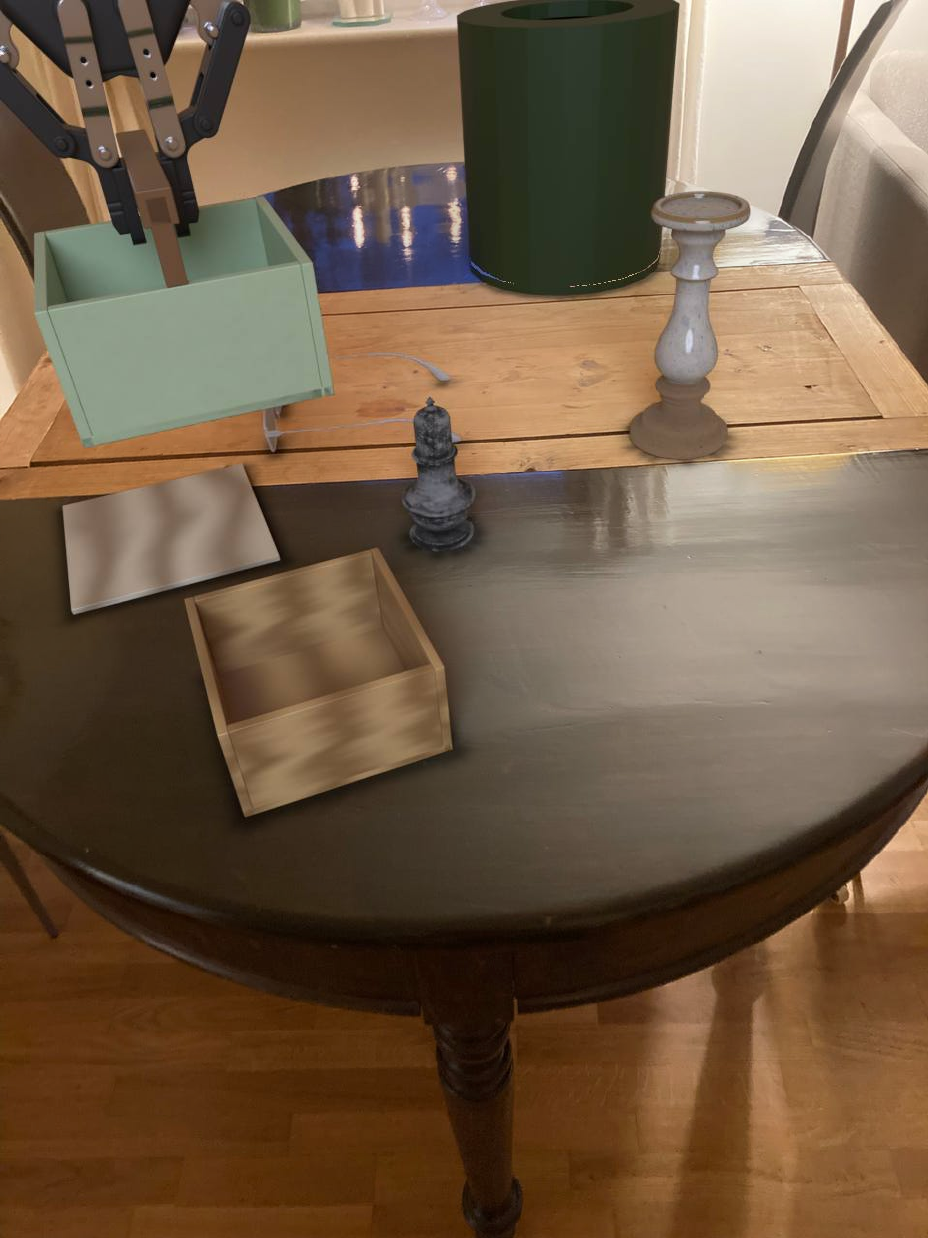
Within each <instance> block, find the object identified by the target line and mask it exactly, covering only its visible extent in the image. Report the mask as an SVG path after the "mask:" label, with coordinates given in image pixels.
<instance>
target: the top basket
mask: <svg viewBox="0 0 928 1238" xmlns="http://www.w3.org/2000/svg"><path fill="white" fill-rule="evenodd" d="M115 140H116V143H117V147H118V149H119V153H120V157H123V160H124V163H125V166H126V169H127V173H128V177H129V180H130V184H131V188H132V191H133V195H134V198H135V202H136V205H137V208H138V212H139V215H140V219H141V223H142V226H143V230H144V233H145V237H146V241H147V243H146V244H140V245H133V242H132V238H131V235H130V234H125V235H119V233H118V232H117V231H116V229H115V228H114V226H113V224H112V221H111V220H106V221H100V222H93V223H87V224H82V225H75V226H69V227H63V228H57V229H51V230H45V231H39V232H34V233H33V260H34V261H33V278H34V279H33V284H34V287H33V313H34V314H33V315H34V318H35V320H36V322H37V325H38V327H39V331H40V334H41V336H42V339H43V342H44V344H45V347H46V350H47V352H48V355H49V359H50V360H51V364H52V367H53V368H54V371H55V374H56V376H57V379H58V382H59V385H60V388H61V390H62V393H63V396H64V398H65V401H66V405H67V406H68V409H69V412H70V415H71V417H72V420H73V423H74V426H75V429H76V431H77V433H78V436H79V439H80V442H81V446H82V447H83V449H89V448H92V447H93V448H94V447H98V446H102V445H108V444H112V443H116V442H121V441H122V442H123V441H126V440H131V439H136V438H139V437H144V436H149V435H153V434H158V433H159V434H160V433H162V432H167V431H172V430H177V429H181V428H186V427H190V426H195V425H199V424H205V423H209V422H214V421H218V420H223V419H227V418H232V417H237V416H242V415H246V414H247V415H248V414H250V413H255V412H260V411H263V410H265V409H270V408H273V409H275V407H279V406H282V407H283V406H288V405H291V404H297V403H302V402H306V401H311V400H316V399H320V398H324V397H329V396H333V395H335V389H334V382H333V376H332V370H331V364H330V359H329V358H330V357H329V352H328V351H329V350H328V346H327V339H326V334H325V330H324V328H325V327H324V321H323V316H322V310H321V304H320V297H319V291H318V285H317V279H316V274H315V266H314V262H313V261H312V259H311V258H310V257H309V256H308V254H307V253H306V251H305V250H304V248H303V247H302V246H301V245H300V243H299V242H298V241H297V240H296V237H294V235H293V234H292V233H291V231H290V229H289V228H288V227H287V226H286V224H285V223H284V221H283V220H282V219H281V217H280V216H279V214H278V213H277V212H276V210H275V209H274V208H273V206H272V205H271V204H270V202H269V201H268V199H266V197H265V196H264V195H261V196H260V195H259V196H254V197H247V198H241V199H236V200H229V201H222V202H217V203H210V204H205V205H198V208H199V218H198V222H197V223H191V224H189V228H190V232H191V236H187V237H181V238H177V235H176V232H175V228H174V224H179V223H180V221H179V217H178V213H177V209H176V205H175V201H174V197H173V193H172V189H171V186H170V184H169V182H168V179H167V177H166V175H165V173H164V170H163V168H162V166H161V164H160V162H159V159H158V157H157V155H156V153H155V152H156V151H155V148H154V146H153V144H152V141H151V140H150V138H149V135H148V133H147V130H146V129H144V128H141V129H134V130H128V131H121V132H116V133H115Z"/></svg>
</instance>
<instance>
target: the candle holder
mask: <svg viewBox="0 0 928 1238" xmlns="http://www.w3.org/2000/svg"><path fill="white" fill-rule="evenodd" d="M751 210H752V209H751V205H750V203H749V202H748V200H746V199H745V198H743V197H741V196H738V195H737V194H736V195H735V194H731V193H728V192H727V193H726V192H721V191H708V190H697V191H695V190H694V191H684V192H677V193H672V194H669V195H665V197H662V198H660V199H658V200H657V201H656V202H655V203H654V205H653V207H652V210H651V218H652V220H653V221H654V222H655V223H657V224H658V225H660V226H662V228H666V229H669V230H671V232H670V236H671V238H672V240H673V241H674V242H675V244H676V245H677V247H678V252H679V253H678V258H677V259H676V261H675V262H674V264H673V265H672V267H671V268H670V271H669V273H670V275H671V277H673V278H674V279H675V291H674V299H673V305H672V306H673V307H672V308H671V309H672V310H671V313H670V316H669V318H668V321H667V323H666V325H665V326H664V328H663V330H662V332H661V333H660V335H659V337H658V340H657V342H656V344H655V347H654V351H653V361H654V364H655V367H656V369H657V370H658V372H659V373H660V376H659V377H658V378H657V379H656V380H655V383H654V385H655V386H654V387H655V390H656V391H657V393H658V394H659V397H660V399H661V400H659V401H656V402H654V403H651V404H650V405H648V406H647V407H646V408H645V409H644V410H643V411H640V412H639V413H637V414H636V415H635V416H634V417H633V418H632V420H631V422H630V424H629V438H630V440H631V442H632V444H633V445H634V446H636V447H637V448H638V449H639V450H641V451H643V452H646V453H647V454H649V455H651V456H652V455H653V456H655V457H659V458H665V459H670V460H671V459H672V460H690V459H698V458H702V457H703V458H704V457H706V456H709V455H712V454H714V453H716V452H717V451H719V450H721V448H723V446H724V445H725V443H726V442H727V438H728V433H729V431H728V429H729V428H728V426H727V423H726V421H725V420H724V419H723V418H722V417H721V416H720V415H718V414H717V412H715V410H714V409H713V408H711V407H710V406H709V405H707V404H705V403H702V400H703V399H704V398H705V396H706V395H707V394H708V393H709V392H710V390H711V387H712V386H711V382H710V380H709V379H708V377H707V376H708V375H709V374H710V373H711V372H712V371H713V370H714V368H715V366H716V364H717V362H718V358H719V347H718V342H717V341H718V340H717V338H716V335H715V332H714V329H713V327H712V323H711V319H710V314H709V302H710V300H709V299H710V290H711V289H710V288H711V282H712V279H714V278H716V277H718V276H719V268H718V266H717V265H716V263H715V261H714V260H715V259H714V251H715V249H716V247H717V245H719V243H720V242H722V240H723V239H724V238H725V237H726V231H727V230H730V229H731V230H732V229H734V228H737V227H740V226H742V225H744V224H745V223H747V222H748V221H749V219H750V216H751Z"/></svg>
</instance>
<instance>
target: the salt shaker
mask: <svg viewBox="0 0 928 1238" xmlns="http://www.w3.org/2000/svg"><path fill="white" fill-rule="evenodd" d="M435 403H436V401H435V400H434V399H433V397H431V396H428V398H426V401H425V404H426V405H425V406H423V407H421V408H420V409H418V410H417V411H416V413H415V414H414V416H413V419H412V420H413V423H412V424H413V434H414V435H413V436H414V445H415V447H414V448H413V449H412V452H411V458H412V460H413V461H414V462H415V463H416V472H417V473H416V474H417V479H416V481H414V482H412V483H411V484H409V485H408V486H407V487H406V488H405V489H404V490H403V492H402V494H401V503H402V506H403V507H404V508H405V509H406V511H407V513H408V515H409V517H410V518H411V520H412V522H413V525H412V526H411V527H410V529H409V538H410V540H411V542H412V544H414V546H416V547H418V548H420V549H422V550H426V551H428V552H429V551H431V552H448V551H452V550H456V549H458V548H461V547H464V546H465V545H466V544H468V543H469V542H470V541H471V539H472V538H473V537H474V535H475V526H474V525H473V523H472V522H471V520H469V519H468V518H469V515H470V512H471V510H472V506H473V503H475V499H476V497H477V495H476V489H475V488H474V486H473V484H471V483H470V482H469V481H467V480H466V479H463V478H461V477H458V476H457V473H456V461H455V459H456V458H457V457H458V454H459V450H458V447H457V446H456V445H455V444H454V443H452V432H453V431H452V420H451V415H450V412H449V411H448V410H447V409H445V407H443V406H439V405H436V404H435ZM451 431H452V432H451Z"/></svg>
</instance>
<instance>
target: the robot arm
mask: <svg viewBox="0 0 928 1238" xmlns="http://www.w3.org/2000/svg"><path fill="white" fill-rule="evenodd" d="M190 6H191V7H192V9H193V11H194V13H195V18H196V21H195V30H196V34H197V35H198V37H199V38H200V39H201V40H202V41H203V42H204V43H205V47H204V51H203V55H202V58H201V62H200V64H199V65H200V66H199V69H198V72H197V75H196V80H195V83H194V86H193V90H192V93H191V96H190V101H189V104H188V107H186V108H185V109H183V110H181V111H179V112H178V113H177V108H176V105H175V102H174V97H173V96H174V95H173V93H172V89H171V86H170V82H169V78H168V75H167V72H166V67H165V66H166V65H167V63H168V62H169V60H170V58H171V55H172V53H173V50H174V47H175V44H176V42H177V39H178V36H179V33H180V32H181V31H180V30H181V29H182V25H183V22H184V20H185V18H186V15H187V12H188V10H189V7H190ZM251 17H252V16H251V13H250V11H249V9H248V8H247V6H245V5H244V4H243V3H242V2H240V1H239V0H0V101H1V102H2V104H4V105H5V107H7V108H8V109H9V110H10V112H12V114H13V115H14V116H15V117H17V119H18V120H19V121H20V122H21V123H22V124H23V125H24V126H25V127H26V128H27V129H28V130H29V131H30V132H31V133H32V134H33V135H34V137H36V138H37V140H39V142H41V143H42V144H43V145H44V147H45V148H46V149H47V150H48V151H49V152H50V153H51V154H52V155H54V156H55V157H56V158H58V159H62V160H63V159H64V160H67V159H72V160H77V161H82V162H85V163H87V164H89V165H90V166H91V167H92V168H93V169H94V170H95V171H96V173H97V176H98V180H99V184H100V186H101V190H102V194H103V197H104V200H105V203H106V207H107V210H108V214H109V218H110V221H112V224H113V226H114V228H115V229H116V231H117V232H118V233H119V235H125V234H130V235H131V238H132V242H133V245H140V244H146V243H147V241H146V237H145V233H144V230H143V226H142V223H141V219H140V214H139V211H138V208H137V205H136V202H135V198H134V195H133V191H132V188H131V184H130V180H129V177H128V173H127V169H126V166H125V163H124V160H123V157H121V156H120V154H119V150H118V149H119V148H118V144H117V139H116V135H115V132H114V131H115V130H114V127H113V123H112V119H111V113H110V108H109V104H108V99H107V95H106V91H105V86H104V83H106V82H109V81H111V80H113V79H114V78H117V77H120V76H122V77H128V78H134V79H137V82H138V85H139V88H140V91H141V95H142V98H143V102H144V104H145V107H146V110H147V114H148V118H149V121H150V123H151V124H150V125H151V127H152V131H153V134H154V140H155V144H156V147H157V148H156V149H157V151H155V153H156V155H157V157H158V159H159V162H160V164H161V166H162V168H163V170H164V173H165V175H166V177H167V179H168V182H169V184H170V186H171V189H172V193H173V197H174V201H175V205H176V209H177V213H178V217H179V221H180V223H179V224H174V228H175V232H176V235H177V238H181V237H187V236H191V232H190V228H189V224H191V223H197V222H198V218H199V208H198V206H199V203H198V200H197V196H196V192H195V187H194V183H193V178H192V175H191V171H190V165H189V161H188V156H189V155H188V154H189V152H190V149H191V148H192V147H193V146H194V145H195V144H197V143H199V142H200V141H203V140H204V139H211V138H212V139H213V138H214V137H215V136H216V135H217V134H218V132H219V131H220V126H221V123H222V119H223V116H224V113H225V109H226V106H227V103H228V100H229V96H230V94H231V93H230V92H231V89H232V86H233V83H234V79H235V76H236V73H237V71H238V70H237V69H238V66H239V63H240V60H241V56H242V53H243V49H244V46H245V42H246V40H247V36H248V33H249V29H250V26H251V23H252V22H251V21H252V18H251ZM13 25H14V27H15V28H16V29H17V30H19V31H20V33H22V34H23V35H24V36H25V37H26V38H27V40H28V41H30V42H31V43H32V44H33V45H34V46H35V47H36V48H38V50H39V51H41V53H42V54H43V55H45V57H47V59H49V60H50V61H51V62H52V63H53V64H54V65H55V66H56V67H57V68H58V69H59V70H60V71H61V72H62V73H64V74H65V75H66V76H67V77H69V78H70V79H73V83H74V86H75V91H76V95H77V99H78V103H79V108H80V112H81V115H82V120H83V124H84V127H82V126H77V125H73V124H69V123H67V121H66V120H64V118H63V117H62V116H61V115H60V114H59V113H58V111H56V109H55V108H53V106H52V105H51V104H50V103H49V102H48V101H47V100H46V99H45V98H44V96H42V94H41V93H40V92H39V91H38V90H37V89H36V88H35V86H33V85H32V84H31V83H30V82H29V81H28V80H27V78H26V77H25V76H24V75H23V74H22V73H21V72H20V71H19V70H18V69H17V67H18V66H19V63H20V59H21V58H20V56H21V55H20V51H19V48H18V46H17V45H16V43H15V42H14V40H13V38H12V34H11V29H12V27H13Z"/></svg>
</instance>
